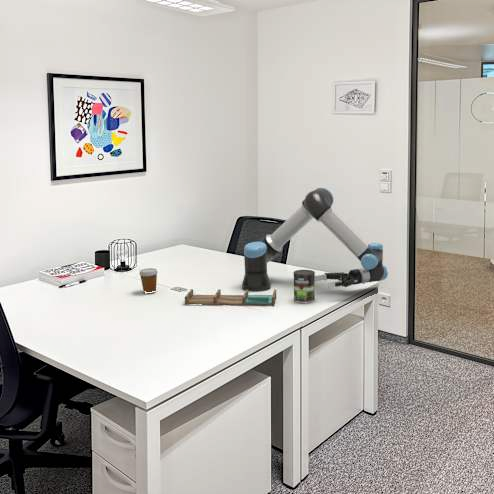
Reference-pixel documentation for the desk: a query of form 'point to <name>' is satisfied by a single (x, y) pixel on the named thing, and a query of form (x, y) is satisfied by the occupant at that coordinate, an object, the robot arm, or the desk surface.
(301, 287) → the coffee can
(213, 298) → the slot rack
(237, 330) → the desk surface
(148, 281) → the disposable coffee cup
